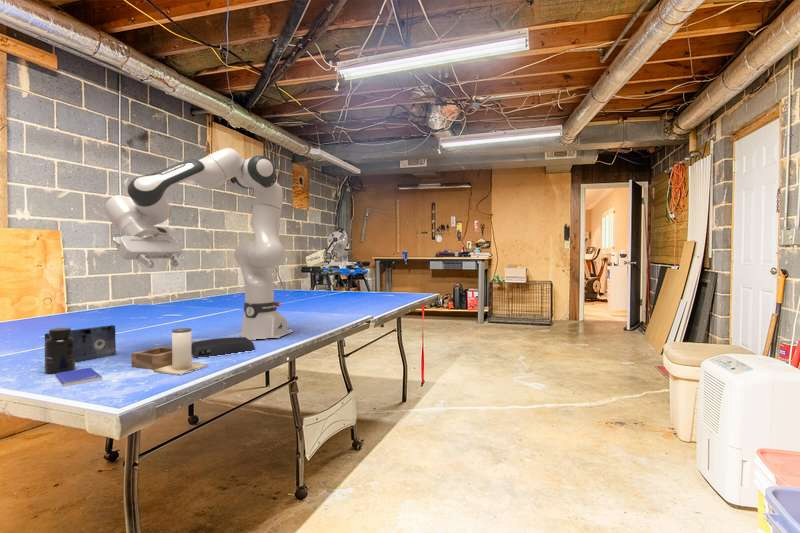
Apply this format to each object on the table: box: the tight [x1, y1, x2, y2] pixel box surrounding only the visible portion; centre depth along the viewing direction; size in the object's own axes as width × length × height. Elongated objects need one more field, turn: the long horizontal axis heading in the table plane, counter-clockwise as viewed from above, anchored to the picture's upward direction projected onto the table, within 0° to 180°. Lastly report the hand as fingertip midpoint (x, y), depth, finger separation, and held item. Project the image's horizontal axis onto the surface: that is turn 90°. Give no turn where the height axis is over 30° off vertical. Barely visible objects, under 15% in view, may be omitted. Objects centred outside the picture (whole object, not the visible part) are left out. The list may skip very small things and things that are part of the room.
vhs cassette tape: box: [44, 324, 117, 364], centre depth 131 cm, size 18×3×10 cm, turn 149°
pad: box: [152, 362, 209, 375], centre depth 122 cm, size 10×10×1 cm
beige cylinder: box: [171, 327, 193, 369], centre depth 122 cm, size 5×5×11 cm
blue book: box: [54, 367, 103, 387], centre depth 113 cm, size 2×8×12 cm
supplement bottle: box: [44, 327, 76, 375], centre depth 119 cm, size 7×7×12 cm
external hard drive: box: [191, 336, 256, 359], centre depth 144 cm, size 13×19×4 cm
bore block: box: [131, 345, 172, 370], centre depth 127 cm, size 10×10×4 cm
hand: (164, 265), depth 134 cm, fingers open, 8 cm apart
